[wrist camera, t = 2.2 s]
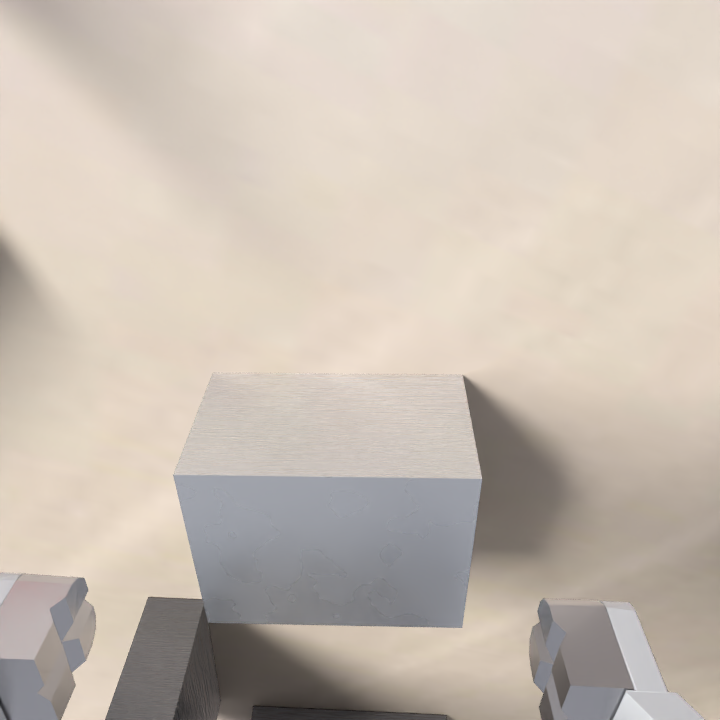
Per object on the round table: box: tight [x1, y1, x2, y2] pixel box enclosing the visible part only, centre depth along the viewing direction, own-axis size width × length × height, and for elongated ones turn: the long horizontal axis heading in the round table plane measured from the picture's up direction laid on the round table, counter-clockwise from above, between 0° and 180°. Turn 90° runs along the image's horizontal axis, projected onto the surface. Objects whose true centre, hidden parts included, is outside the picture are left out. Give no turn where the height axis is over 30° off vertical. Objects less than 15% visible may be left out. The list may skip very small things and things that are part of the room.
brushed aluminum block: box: [173, 373, 482, 628], centre depth 25 cm, size 8×10×6 cm
